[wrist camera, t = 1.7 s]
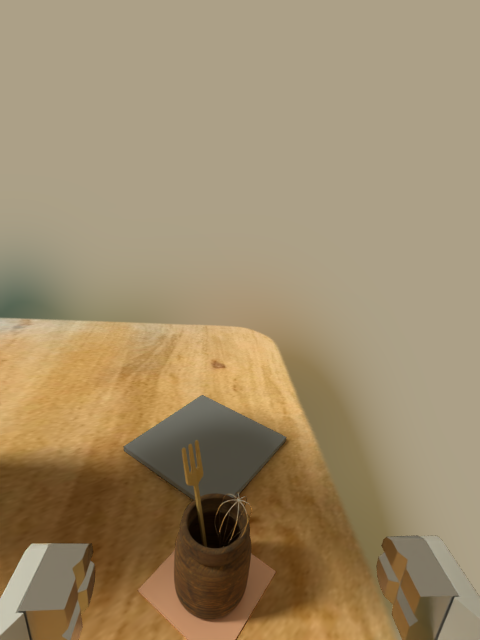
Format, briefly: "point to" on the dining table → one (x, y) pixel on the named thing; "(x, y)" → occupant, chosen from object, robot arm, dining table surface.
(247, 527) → the utensil holder
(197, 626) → the pink tile
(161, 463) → the charcoal mat
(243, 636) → the dining table surface
